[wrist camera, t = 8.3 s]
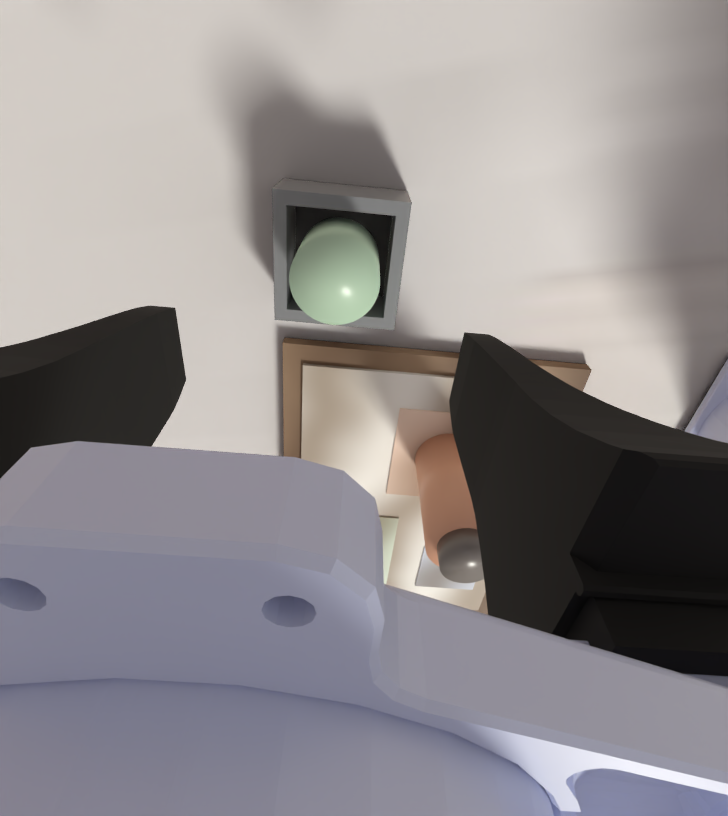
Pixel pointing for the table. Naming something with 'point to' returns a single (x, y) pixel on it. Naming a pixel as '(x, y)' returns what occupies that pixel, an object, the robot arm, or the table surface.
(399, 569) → the beige flat tray
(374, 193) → the button housing
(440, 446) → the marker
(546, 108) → the table surface
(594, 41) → the table surface
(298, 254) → the button
